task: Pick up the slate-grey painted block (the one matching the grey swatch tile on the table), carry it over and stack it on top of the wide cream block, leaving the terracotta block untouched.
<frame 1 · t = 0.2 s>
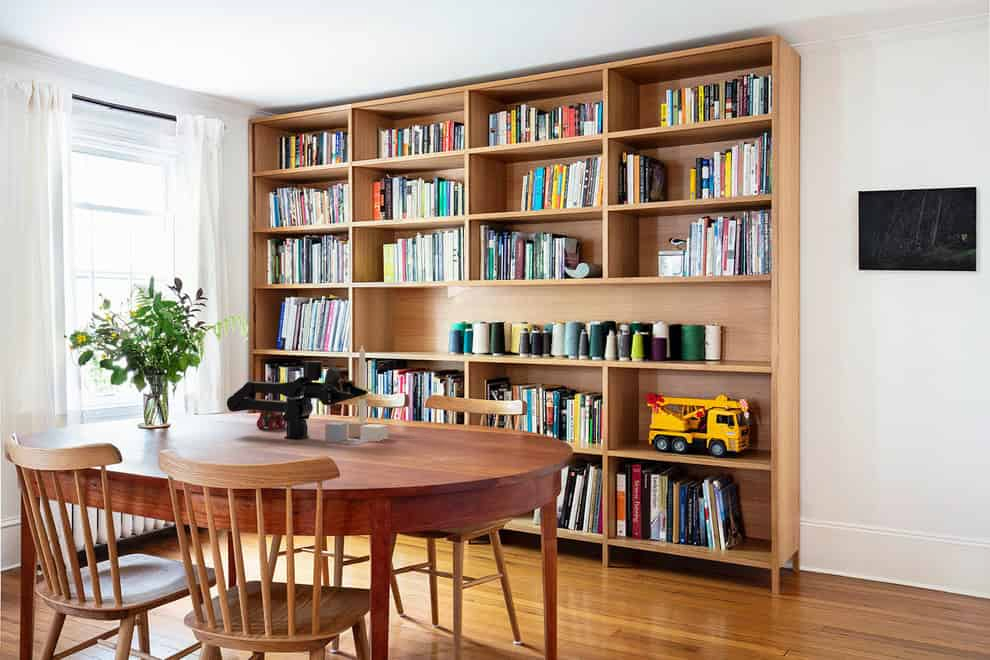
hand: (360, 394, 300), 16 cm above the table, tool horizontal, fingers open, 9 cm apart
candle: (362, 431, 328), on the table
cream block: (374, 440, 307), on the table
swatch tile: (355, 442, 300), on the table
grey block: (336, 440, 304), on the table
toy fire truck: (271, 428, 333), on the table
terracotta block: (356, 436, 314), on the table
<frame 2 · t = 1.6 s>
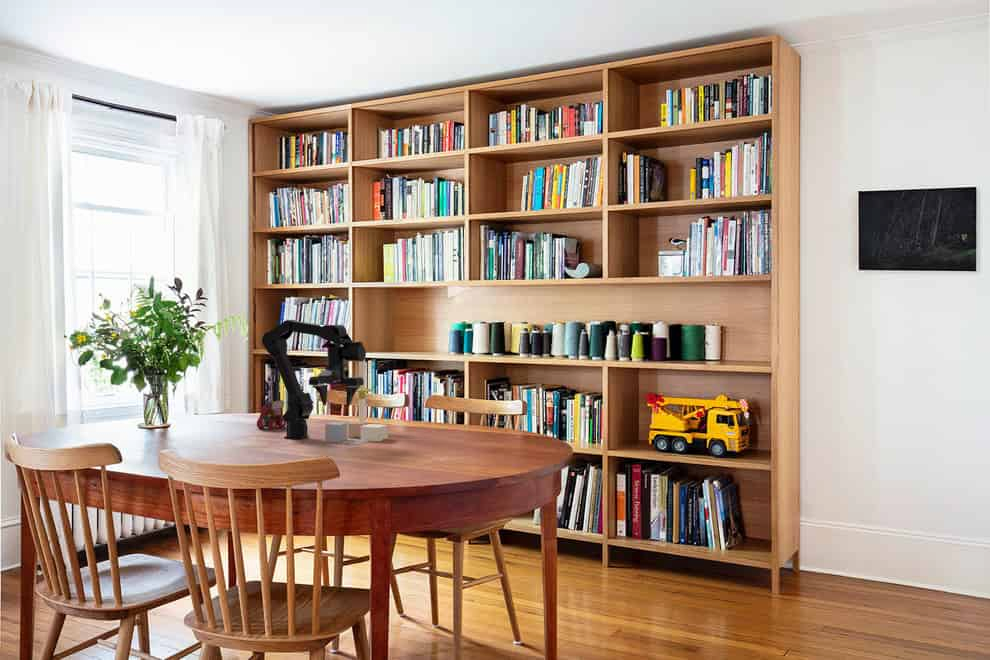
hand: (336, 406, 304), 12 cm above the table, tool pointing down, fingers open, 9 cm apart
nothing on the table moved.
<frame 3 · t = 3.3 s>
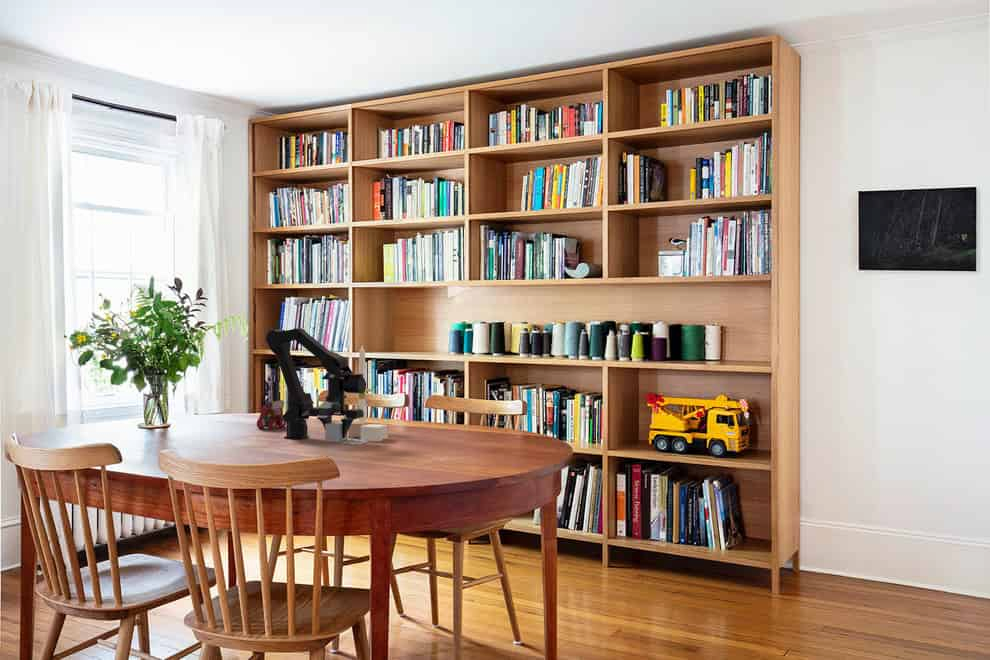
hand: (336, 437, 304), 1 cm above the table, tool pointing down, fingers closed on grey block, 5 cm apart
grey block: (336, 440, 304), on the table, touching gripper
everything else where it was.
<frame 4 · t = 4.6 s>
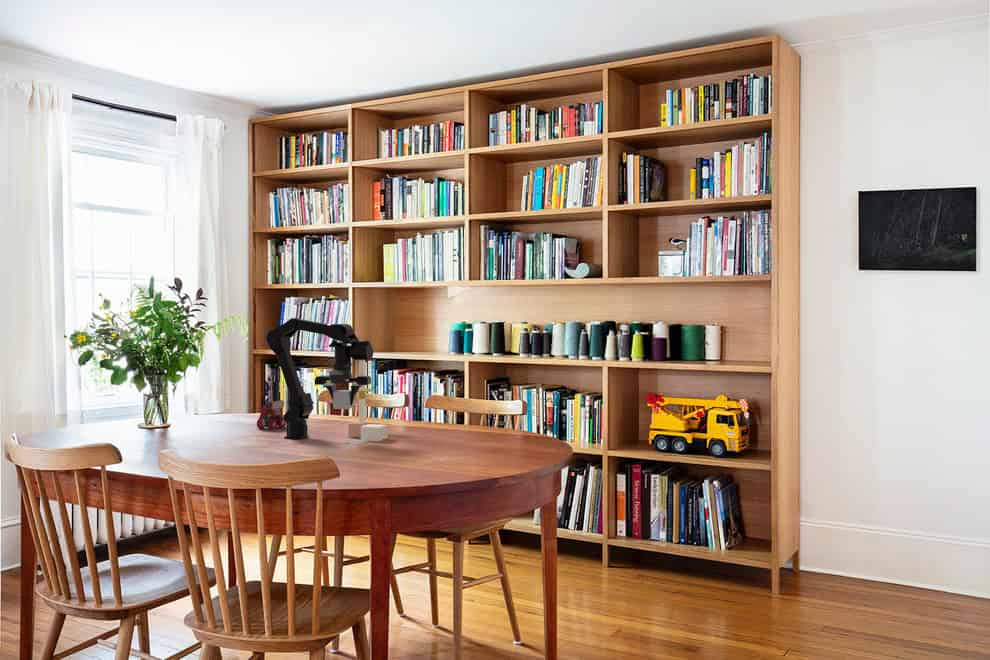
hand: (343, 405, 304), 12 cm above the table, tool pointing down, fingers closed on grey block, 5 cm apart
grey block: (343, 408, 304), point 11 cm above the table, touching gripper
everything else where it was.
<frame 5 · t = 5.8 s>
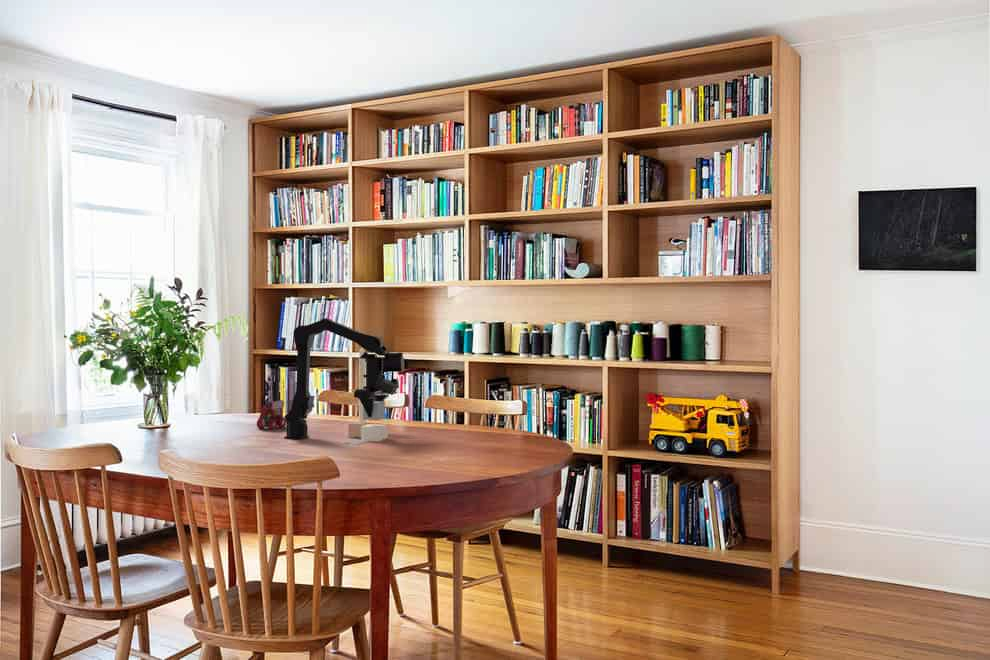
hand: (373, 416, 307), 8 cm above the table, tool pointing down, fingers closed on grey block, 5 cm apart
grey block: (373, 419, 307), point 7 cm above the table, touching gripper
everything else where it was.
when the fingers open (7 cm above the table, at t = 6.3 s): grey block drops 2 cm, resting on cream block.
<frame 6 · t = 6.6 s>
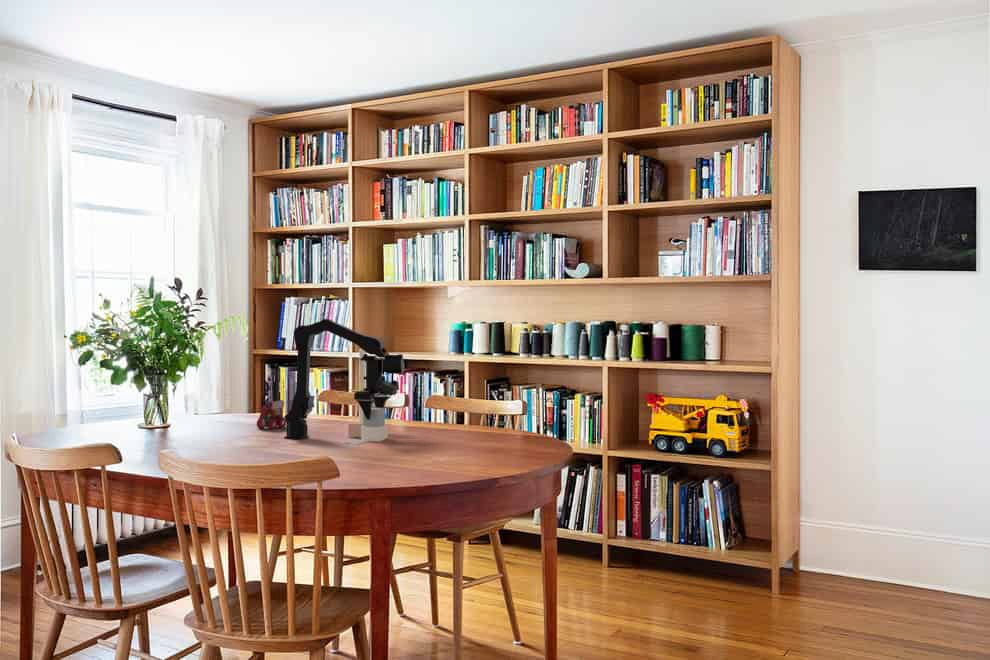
hand: (374, 418, 307), 7 cm above the table, tool pointing down, fingers open, 8 cm apart
cream block: (374, 439, 307), on the table, touching grey block
grey block: (374, 425, 307), point 5 cm above the table, touching cream block
everything else where it was.
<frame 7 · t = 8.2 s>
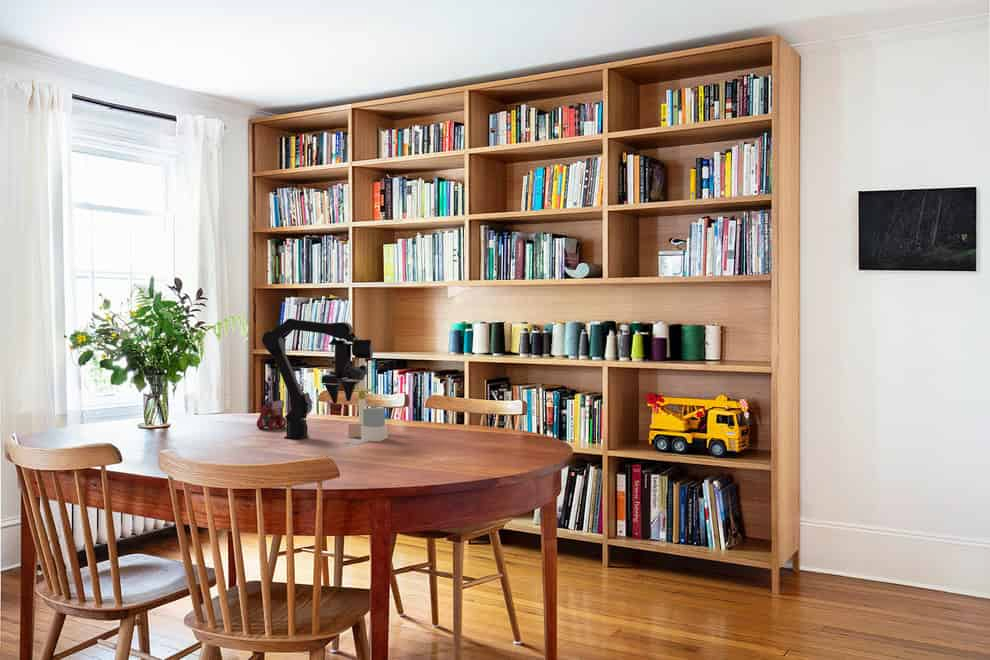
hand: (341, 402, 308), 13 cm above the table, tool pointing down, fingers open, 9 cm apart
nothing on the table moved.
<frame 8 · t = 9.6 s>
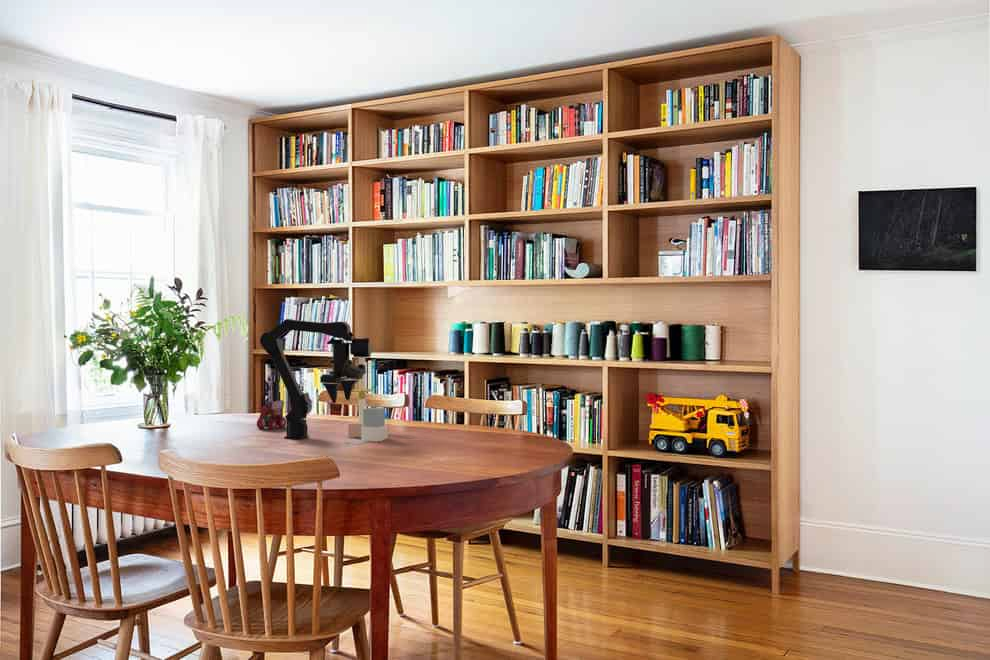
hand: (341, 401, 309), 13 cm above the table, tool pointing down, fingers open, 9 cm apart
nothing on the table moved.
at the end: grey block 0.1 cm off-centre on the cream block, point 5.0 cm above the cream block's base; grey block tilted 0°; the gripper is holding nothing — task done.
